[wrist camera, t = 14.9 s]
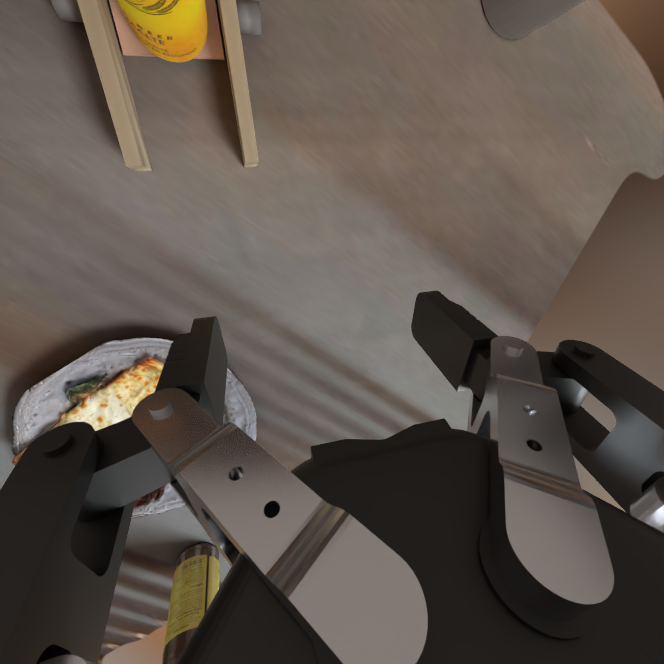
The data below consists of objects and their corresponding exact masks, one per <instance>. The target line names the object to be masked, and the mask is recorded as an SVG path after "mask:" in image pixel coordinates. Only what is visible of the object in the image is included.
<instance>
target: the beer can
mask: <svg viewBox="0 0 664 664" xmlns="http://www.w3.org/2000/svg"><path fill="white" fill-rule="evenodd" d="M116 2H117V3H118V5H119V7H120V9H121V11H122V12H123V14H124V16H125V18H126V20H127V22H128V23H129V25H130V27H131V29H132V30H133V32H134V34H135V35H136V37H137V38H138V39H139V40H140V42H141V43H142V44H143V45H144V46H145V47H146V48H147V49H148V50H149V51H151V52H152V53H153V54H155V55H157V56H158V57H160V58H162V59H164V60H167V61H171V62H186V61H189V60H191V59H193V58H195V57H196V56H197V55H198V54H199V53H200V52H201V51H202V49H203V47H204V45H205V43H206V40H207V35H208V20H207V12H206V5H205V0H116Z"/></svg>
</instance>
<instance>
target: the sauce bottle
mask: <svg viewBox="0 0 664 664" xmlns="http://www.w3.org/2000/svg"><path fill="white" fill-rule="evenodd" d="M218 559H219V552H218V549H217V548H216V547H215V546H213V545H211V544H207V543H203V544H198V545H194V546H192V547H190V548H188V549H186V550H185V551H184V552H183V553H182V554H181V555H180V556H179V558H178V560H177V566H176V570H175V573H174V578H173V586H172V592H171V600H170V607H169V614H168V621H167V630H166V637H165V644H164V652H163V664H177V662H178V660H179V658H180V657H181V655H182V653H183V651H184V649H185V648H186V646H187V644H188V642H189V641H190V639H191V637H192V635H193V634H194V632H195V630H196V628H197V627H198V625H199V623H200V621H201V620H202V618H203V616H204V614H205V613H206V611H207V609H208V607H209V606H210V604H211V602H212V600H213V599H214V597H215V595H216V593H217V592H218V590H219V561H218Z"/></svg>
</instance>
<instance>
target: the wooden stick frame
mask: <svg viewBox="0 0 664 664" xmlns="http://www.w3.org/2000/svg"><path fill="white" fill-rule="evenodd" d="M51 2H52V5H53V7H54V9H55V11H56V13H57V14H58V16H59V18H60V19H61V20H62V21H67V22H81V23H84V25H85V29H86V32H87V35H88V39H89V42H90V46H91V49H92V52H93V56H94V59H95V63H96V66H97V69H98V73H99V76H100V80H101V83H102V86H103V90H104V93H105V96H106V100H107V103H108V107H109V110H110V113H111V117H112V120H113V124H114V127H115V130H116V134H117V137H118V140H119V144H120V147H121V151H122V154H123V157H124V161H125V164H126V166H127V167H129V168H132V169H134V170H136V171H152V168H151V164H150V160H149V156H148V153H147V149H146V145H145V141H144V138H143V134H142V130H141V126H140V123H139V119H138V115H137V111H136V108H135V104H134V100H133V96H132V93H131V89H130V85H129V81H128V78H127V74H126V70H125V66H124V63H123V59H122V55H121V51H120V48H119V44H118V40H117V36H116V33H115V29H114V25H113V21H112V18H111V14H110V10H109V6H108V3H107V0H51ZM109 2H110V6H111V10H112V14H113V17H114V21H115V25H116V29H117V33H118V36H119V40H120V44H121V48H122V51H123V54H124V55H127V56H148V57H158V56H157V55H155V54H153V53H152V52H151V51H149V50H148V49H147V48H146V47H145V46H144V45H143V44H142V43H141V42H140V40H139V39H138V38H137V37H136V35H135V34H134V32H133V30H132V29H131V27H130V25H129V23H128V22H127V20H126V18H125V16H124V14H123V12H122V11H121V9H120V7H119V5H118V3H117V2H116V0H109ZM217 2H218V8H219V14H220V20H221V26H222V33H223V39H224V45H225V51H226V58H227V64H228V70H229V76H230V83H231V89H232V95H233V101H234V107H235V114H236V120H237V126H238V132H239V139H240V145H241V151H242V157H243V163H244V167H256V166H257V164H258V162H259V160H258V153H257V146H256V139H255V132H254V125H253V118H252V111H251V104H250V97H249V90H248V83H247V76H246V69H245V62H244V55H243V48H242V41H241V34H253V35H261V33H262V24H261V12H260V5H259V1H251V0H217ZM205 5H206V12H207V20H208V35H207V40H206V43H205V45H204V47H203V49H202V51H201V52H200V53H199V54H198V55H197V56H196V57H195V58H193V59H211V60H225V59H224V52H223V46H222V40H221V34H220V28H219V22H218V16H217V9H216V3H215V0H205Z"/></svg>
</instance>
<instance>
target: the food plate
mask: <svg viewBox="0 0 664 664" xmlns="http://www.w3.org/2000/svg"><path fill="white" fill-rule="evenodd" d="M172 342H173V341H172V340H171V341H170V340H167V339H164V340H163V339H161V338H159V339H157V338H141V339H140V338H132V339H125V340H117V341H114V340H113V341H110V342H109V341H108V342H107V343H105V344H103V346H99V347H96V348H94V349H93V350H91V351H89V352H88V353H86V354H85V355H83V356H81V357H80V358H78V359H77V360H75V361H73V362H71V363H70V364H68V365H67V366H65V367H63V368H62V369H60V370H59V371H57V372H55V373H54V374H52V375H50V376H49V377H47V378H46V379H44V380H42V381H41V382H39V383H37V384H38V385H34V386H32V387H33V388H32V387H31V390H26V392H24V394H23V395H22V397H21V398H20V399H19V400H18V401H17V404H16V406H15V410H14V415H13V417H12V419H13V445H12V451H13V454H15V457H14V459H13V461H12V462H13V464H15V465H16V464H17V462H18V461H19V459H20V458H21V456H22V454H23V453H24V451H25V450H26V449H27V448H28V446H29V445H30V444H31V443H32V442H34V441H35V440H36V439H37V438H39V437H40V436H41V435H43V434H44V433H46V432H48V431H50V430H51V429H53V428H56V427H58V426H61V425H63V424H67V423H71V422H86V423H89V424H90V425H92V427H93V428H94V430H95V431H97V430H100V429H102V428H105V427H107V426H110V425H113V424H115V423H118V422H120V421H123V420H125V419H127V418H129V417H131V416H132V413H133V410H134V408H135V407H136V405H137V404H138V403H139V402H140V401H141V400H142V399H144V398H145V397H147V396H148V395H150V394H152V393H154V392H155V389H156V386H157V384H158V381H159V378H160V375H161V372H162V369H163V366H164V364H165V360H166V358H167V355H168V352H169V349H170V346H171V343H172ZM101 345H102V344H101ZM256 416H257V415H256V412H255V408H254V406H253V402H252V400H251V398H250V395H249V394H248V393H247V391H246V389H245V388H244V386H243V385H242V384H241V383H240V381H238V379H237V378H236V377H235V376H234V375H233V373H232V372H231V371H230V370H229V369H228V368H227V378H226V391H225V404H224V418H223V422H224V423H225V425H226V424H227V423H229V422H232V423H234V424H235V425H237V426H238V427H239V428H240V429H241V430H243V431H244V432H245V433H246V434H247V435H248V436H250V437H251V438H252V439H253V440H254V441H255V439H256V434H257V433H256ZM225 425H224V426H225ZM184 506H185V503H184V502H183V501H182V499H181V498H180V497H179V496H178V494H177V493H176V492H175V491H174V489H173V488H172V487H171V485H170V484H169V483H168V484H166V485H164V486H162V487H160V488H158V489H156V490H154V491H152V492H150V493H148V494H146V495H144V496H142V497H140V498H138V499H136V500H135V504H134V509H133V513H132V517H131V518H136V517H142V516H146V515H148V514H150V515H151V514H160V513H163V512H166V511H168V510H172V509H175V508H180V507H184Z"/></svg>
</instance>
